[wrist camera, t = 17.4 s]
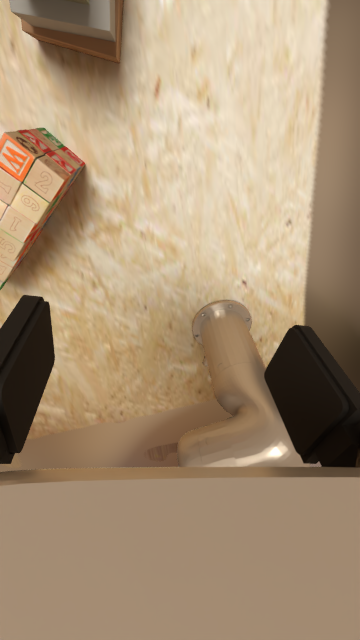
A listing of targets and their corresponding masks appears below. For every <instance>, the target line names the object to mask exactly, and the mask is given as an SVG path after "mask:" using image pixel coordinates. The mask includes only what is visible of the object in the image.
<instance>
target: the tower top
mask: <svg viewBox="0 0 360 640" xmlns="http://www.w3.org/2000/svg"><path fill="white" fill-rule="evenodd" d="M9 2H10V8H11V12H13V13H14V14H15V15H17V16H18V17H20V18H21V19H22V20H24V21H25V22H27V23H28V24H30V25H31V26H35V27H40V28H45V29H50V30H55V31H60V32H66V33H71V34H76V35H81V36H86V37H91V38H97V39H102V40H107V41H112V42H116V41H115V0H89V3H90V5H86V4H81V3H76V2H71V1H66V0H9Z"/></svg>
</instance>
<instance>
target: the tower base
mask: <svg viewBox="0 0 360 640" xmlns="http://www.w3.org/2000/svg"><path fill="white" fill-rule="evenodd" d="M122 16H123V0H115V41H116V42H112V41H107V40H102V39H97V38H91V37H86V36H81V35H76V34H71V33H66V32H60V31H55V30H50V29H45V28H40V27H35V26H31V25H30V24H28V23H27V22H25V21H24V20H22V19H21V22H22V30H23V31H24V32H26V33H28V34H29V35H31V36H32V37H34V38H36V39H37V40H40V41H43V42H47V43H50V44H54V45H57V46H61V47H64V48H68V49H71V50H75V51H78V52H82V53H85V54H89V55H92V56H96V57H99V58H103V59H106V60H109V61H113V62H116V63H120V52H121V34H122Z"/></svg>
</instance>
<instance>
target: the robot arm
mask: <svg viewBox="0 0 360 640" xmlns="http://www.w3.org/2000/svg"><path fill="white" fill-rule="evenodd" d="M251 323H252V320H251V316H250V314H249V312H248V310H247V309H246V308H245V307H244V306H243V305H242V304H240V303H238V302H235V301H230V300H222V301H217V302H214V303H211V304H209V305H207V306H205V307H204V308H202V309H201V310H200V311H199V312H198V313H197V315H196V316H195V318H194V320H193V324H192V331H193V335H194V337H195V339H196V340H197V342H198V343H200V344H201V345H203V347H204V351H205V357H204V360H203V365H205V366H208V368H209V372H210V377H211V381H212V385H213V390H214V394H215V397H216V399H217V401H218V402H219V404H220V405H221V406H222V407H223V408H224V409H225V410H226V411H227V412H229V413H230V414H231V415H233V417H230V418H227V419H226V420H222V421H219V422H216V423H213V424H209V425H206V426H203V427H201V428H197V429H194V430H192V431H189V432H187V433H186V434H184V435H183V436H182V437H181V439H180V440H179V443H178V447H177V459H178V466H179V467H132V468H129V467H128V468H68V469H67V468H66V469H35V470H20V471H7V472H0V640H360V393H359V391H358V390H357V389H356V387H355V386H354V385H353V383H352V382H351V380H350V379H349V378H348V376H347V375H346V374H345V373H344V371H343V370H342V368H341V367H340V366H339V365H338V363H337V362H336V360H335V359H334V358H333V356H332V355H331V354H330V353H329V351H328V350H327V348H326V347H325V346H324V344H323V343H322V342H321V340H320V339H319V338H318V336H317V335H316V334H315V332H314V331H313V330H312V328H311V327H309V326H301V325H295V326H293V327H292V328H290V329H289V330H288V331H287V333H286V335H285V337H284V338H283V340H282V342H281V344H280V345H279V347H278V349H277V351H276V353H275V354H274V356H273V358H272V360H271V361H270V363H269V365H268V367H267V368H266V367H265V365H264V363H263V360H262V358H261V356H260V354H259V352H258V349H257V347H256V345H255V343H254V341H253V338H252V336H251V334H250V332H249V331H250V328H251ZM54 360H55V354H54V344H53V335H52V325H51V316H50V306H49V302H46V301H44V299H43V297H38V296H29V295H23V296H22V298H21V299H20V301H19V302H18V303H17V305H16V306H15V308H14V309H13V311H12V312H11V314H10V315H9V317H8V318H7V320H6V321H5V323H4V324H3V326H2V327H1V329H0V464H11V462H12V459H13V456H14V454H15V453H20V452H21V450H22V448H23V446H24V443H25V441H26V438H27V435H28V433H29V430H30V427H31V424H32V422H33V419H34V416H35V414H36V411H37V408H38V406H39V403H40V400H41V398H42V395H43V392H44V389H45V387H46V384H47V381H48V379H49V376H50V373H51V371H52V368H53V365H54ZM318 461H320V463H321V465H322V467H310V464H316V463H317V462H318Z"/></svg>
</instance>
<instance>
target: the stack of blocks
mask: <svg viewBox="0 0 360 640" xmlns="http://www.w3.org/2000/svg"><path fill="white" fill-rule="evenodd" d="M84 166H85V163H84V162H83V161H82V160H81V159H80V158H78V157H77V156H76V155H75V154H74V153H73V152H72V151H70V150H69V149H68V148H67V147H65V146H64V145H63V144H62V143H61V142H59V141H58V140H57V139H56V138H55V137H54V136H53V135H52V134H50V133H49V132H48V131H47V130H46V129H45V128H36V129H31V130H18V131H15V132H4V133H3V135H2V137H1V139H0V290H1V289H2V287H3V286H4V284H5V283H6V281H7V280H8V279H9V278H10V276H11V275H12V273H13V272H14V271H15V270H16V268H17V267H18V266H19V264H20V262H21V261H22V259H23V258H24V257H25V255H26V254H27V252H28V251H29V249H30V248H31V246H32V245H33V243H34V242H35V240H36V239H37V237H38V236H39V234H40V232H41V231H42V229H43V227H44V225H45V224H46V222H47V221H48V219H49V218H50V216H51V215H52V213H53V211H54V210H55V208H56V207H57V205H58V204H59V202H60V201H61V199H62V198H63V197H64V195H65V194H66V192H67V191H68V189H69V188H70V186H71V185H72V183H73V182H74V180H75V179H76V178H77V176H78V175H79V173H80V172H81V170H82V169H83V167H84Z"/></svg>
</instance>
